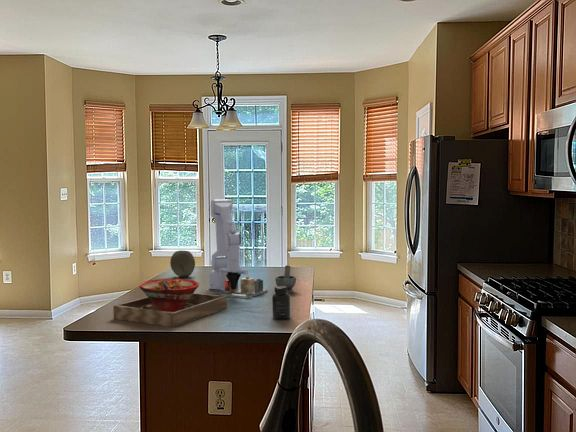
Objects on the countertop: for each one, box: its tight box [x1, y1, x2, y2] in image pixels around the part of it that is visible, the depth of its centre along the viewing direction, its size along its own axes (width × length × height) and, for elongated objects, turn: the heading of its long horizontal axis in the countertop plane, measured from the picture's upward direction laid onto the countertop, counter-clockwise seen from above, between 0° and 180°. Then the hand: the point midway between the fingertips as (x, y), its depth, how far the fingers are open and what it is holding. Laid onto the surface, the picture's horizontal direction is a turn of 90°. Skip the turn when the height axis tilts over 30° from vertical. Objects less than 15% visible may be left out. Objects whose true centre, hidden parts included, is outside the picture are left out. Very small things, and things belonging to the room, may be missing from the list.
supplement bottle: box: [271, 285, 291, 321], centre depth 205 cm, size 7×7×12 cm
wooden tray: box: [112, 292, 228, 328], centre depth 215 cm, size 29×33×5 cm
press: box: [233, 278, 268, 297], centre depth 254 cm, size 11×12×7 cm
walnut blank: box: [230, 282, 239, 294], centre depth 256 cm, size 5×4×5 cm
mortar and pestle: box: [275, 265, 297, 294], centre depth 257 cm, size 11×9×12 cm
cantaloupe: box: [169, 250, 196, 278], centre depth 301 cm, size 14×14×15 cm
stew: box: [139, 277, 200, 312], centre depth 213 cm, size 28×24×16 cm
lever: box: [222, 280, 232, 294], centre depth 248 cm, size 4×3×6 cm
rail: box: [219, 290, 253, 300], centre depth 246 cm, size 15×3×2 cm, turn 62°
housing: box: [239, 276, 256, 291], centre depth 255 cm, size 5×4×6 cm
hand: (233, 289), depth 246 cm, fingers closed
